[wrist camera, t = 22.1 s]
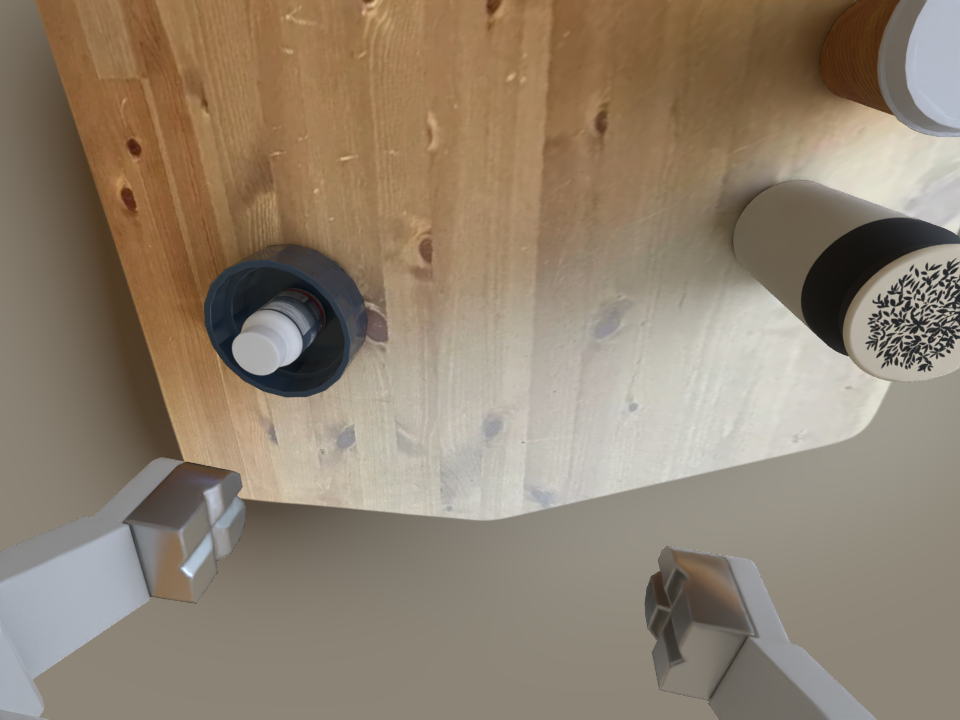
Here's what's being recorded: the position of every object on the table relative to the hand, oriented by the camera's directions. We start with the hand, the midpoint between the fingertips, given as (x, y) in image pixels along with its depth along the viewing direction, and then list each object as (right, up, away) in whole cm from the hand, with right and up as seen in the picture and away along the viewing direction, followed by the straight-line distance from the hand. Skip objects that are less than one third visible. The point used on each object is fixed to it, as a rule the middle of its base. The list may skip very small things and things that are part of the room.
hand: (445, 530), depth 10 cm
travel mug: (+25, +14, +32) cm, 43 cm away
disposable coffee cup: (+27, +25, +26) cm, 45 cm away
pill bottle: (-17, +8, +40) cm, 44 cm away
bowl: (-17, +8, +40) cm, 44 cm away
